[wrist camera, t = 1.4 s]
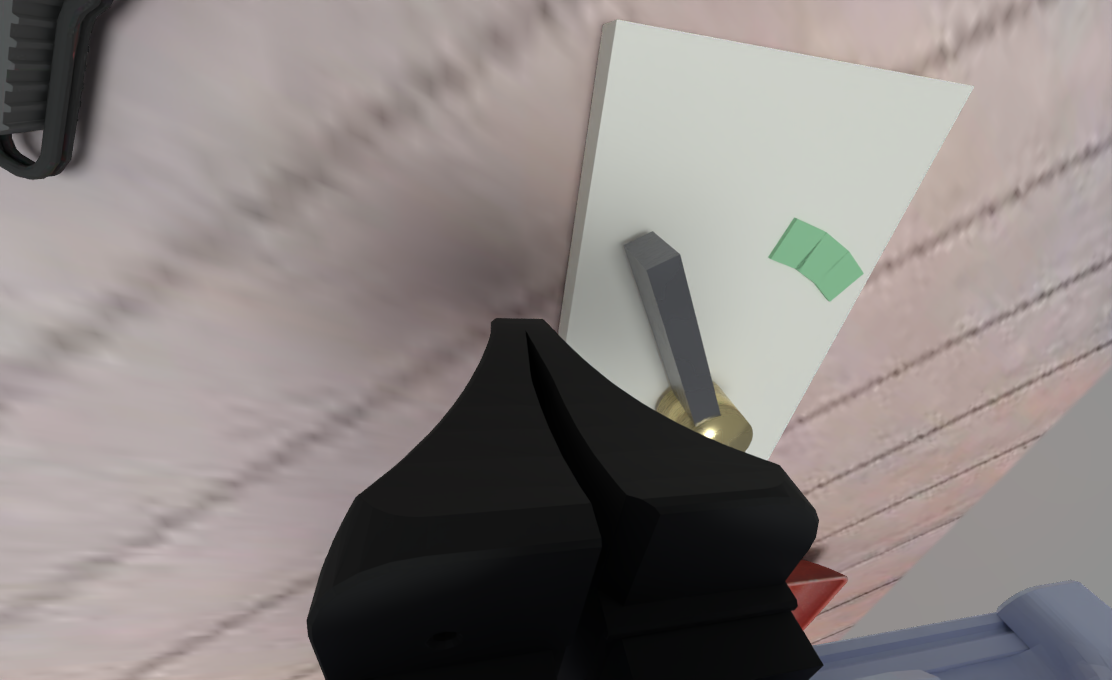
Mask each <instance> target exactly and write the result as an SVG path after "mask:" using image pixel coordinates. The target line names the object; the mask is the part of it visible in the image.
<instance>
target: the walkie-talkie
mask: <svg viewBox="0 0 1112 680" xmlns="http://www.w3.org/2000/svg"><path fill="white" fill-rule="evenodd" d="M112 2H113V0H0V167H2V168H4V169H5V170H7V171H9V172H10V173H12V174H14V175H16V176H18V177H22V178H27V179H32V180H34V179H44V178H46V177H48V176H55V175H57V174H60V173H61V172H62V171H63V170H64V168H65V167H66V165H67V164H68V163H69V162H70V160H71V157H72V151H73V144H74V137H75V131H76V124H77V121H78V119H77V118H78V111H79V107H80V106H81V102H80V98H81V91H82V89H83V86H84V84H83V78H84V71H86V58H87V52H89V46H88V45H89V38H90V33H92V28H93V25H94V23H95V20H96V18H97V16H99V15H100V14H102V13H103V12H104V11H106V10H107V9H108V8H110V6H111V4H112ZM37 130H44V131H43V139H42V147H41V155H40V157H39V158H38V160H37V161H36V163H35V162H34V161H32V160H30V159H29V158H27V157H25V156H24V155H22V154H21V153H20V152H19V151H18V150H17V149H16V147H15V145H14V142H13V140H12V134H13V133H21V132H29V131H37Z"/></svg>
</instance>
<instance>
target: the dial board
mask: <svg viewBox="0 0 1112 680" xmlns="http://www.w3.org/2000/svg"><path fill="white" fill-rule="evenodd" d="M973 88H974V86H971V85H965V84H960V83H954V82H949V81H944V80H938V79H933V78H928V77H922V76H917V75H912V74H906V73H901V72H896V71H890V70H885V69H880V68H874V67H869V66H863V65H858V64H853V63H847V62H842V61H837V60H831V59H826V58H821V57H815V56H810V55H805V54H799V53H794V52H789V51H783V50H778V49H773V48H767V47H762V46H756V45H751V44H746V43H740V42H735V41H730V40H724V39H719V38H714V37H708V36H703V35H698V34H692V33H687V32H682V31H676V30H671V29H665V28H660V27H655V26H649V25H644V24H639V23H633V22H628V21H623V20H614V21H611V22H609V23H606V24H603V28H602V35H601V41H600V48H599V55H598V62H597V69H596V76H595V83H594V90H593V97H592V103H591V110H590V117H589V124H588V131H587V138H586V145H585V152H584V159H583V165H582V172H581V179H580V186H579V193H578V200H577V207H576V214H575V221H574V227H573V234H572V241H571V248H570V255H569V262H568V269H567V276H566V282H565V289H564V296H563V303H562V310H561V317H560V324H559V331H558V335H559V336H560V337H561V338H562V339H563V340H564V341H565V342H566V343H567V344H568V345H569V346H570V347H571V348H572V349H573V350H575V351H576V352H577V353H578V354H579V355H580V356H581V357H582V358H583V359H584V360H585V361H587V362H588V363H589V364H590V365H591V366H592V367H593V368H595V369H596V370H597V371H598V372H600V373H601V374H602V375H603V376H605V377H606V378H607V379H608V380H610V381H611V382H612V383H614V384H615V385H616V386H618V387H619V388H621V389H622V390H624V391H625V392H627V393H628V394H629V395H631V396H632V397H634V398H635V399H637V400H638V401H640V402H642V403H643V404H645V405H647V406H648V407H650V408H652V409H653V410H655V411H657V408H658V405H659V403H660V401H661V400H662V399H663V397H664V396H665V395H666V394H667V393H668V392H669V391H670V390H672V388H671V385H670V382H669V379H668V376H667V373H666V370H665V367H664V364H663V361H662V358H661V356H660V353H659V350H658V347H657V344H656V341H655V338H654V335H653V332H652V329H651V326H650V323H649V320H648V317H647V314H646V311H645V308H644V305H643V302H642V299H641V296H640V293H639V290H638V287H637V284H636V281H635V278H634V276H633V273H632V270H631V267H630V264H629V261H628V258H627V255H626V252H625V249H624V246H623V245H624V244H627V243H629V242H631V241H633V240H635V239H637V238H639V237H641V236H644V235H646V234H648V233H650V232H652V231H653V232H654V233H655V234H657V235H658V236H659V237H660V238H661V239H663V240H664V241H665V242H666V243H667V244H669V245H670V246H671V247H672V248H673V249H675V250H676V251H677V252H678V253H679V254H680V255H681V259H682V263H683V267H684V271H685V275H686V279H687V283H688V287H689V291H690V295H691V299H692V303H693V307H694V311H695V315H696V319H697V323H698V326H699V330H700V334H701V338H702V342H703V346H704V350H705V354H706V358H707V362H708V366H709V370H710V374H711V378H712V382H714V383H716V384H717V385H718V386H719V387H720V388H721V389H722V391H723V392H724V393H725V394H726V396H727V397H728V398H729V399H730V400H731V402H732V403H733V404H734V405H735V407H736V408H737V409H738V410H739V411H740V413H741V414H742V415H743V416H744V418H745V419H746V420H747V421H748V422H749V424H750V425H751V427H752V430H753V438H752V441H751V443H750V445H749V447H748V449H747V450H746V451H745V453H748V454H751V455H754V456H756V457H759V458H762V459H764V460H768V459H769V457H770V455H771V453H772V451H773V450H774V448H775V446H776V444H777V442H778V441H779V439H780V437H781V435H782V433H783V432H784V430H785V428H786V426H787V424H788V422H789V421H790V419H791V417H792V415H793V413H794V412H795V410H796V408H797V406H798V404H799V403H800V401H801V399H802V397H803V395H804V394H805V392H806V390H807V388H808V386H809V385H810V383H811V381H812V379H813V377H814V375H815V374H816V372H817V370H818V368H819V366H820V365H821V363H822V361H823V359H824V357H825V356H826V354H827V352H828V350H829V348H830V347H831V345H832V343H833V341H834V339H835V337H836V336H837V334H838V332H839V330H840V328H841V327H842V325H843V323H844V321H845V319H846V318H847V316H848V314H849V312H850V310H851V309H852V307H853V305H854V303H855V301H856V299H857V298H858V296H859V294H860V292H861V290H862V289H863V287H864V285H865V283H866V281H867V280H868V278H869V276H870V274H871V272H872V271H873V269H874V267H875V265H876V263H877V261H878V260H879V258H880V256H881V254H882V252H883V251H884V249H885V247H886V245H887V243H888V242H889V240H890V238H891V236H892V234H893V233H894V231H895V229H896V227H897V225H898V224H899V222H900V220H901V218H902V216H903V214H904V213H905V211H906V209H907V207H908V205H909V204H910V202H911V200H912V198H913V196H914V195H915V193H916V191H917V189H918V187H919V186H920V184H921V182H922V180H923V178H924V176H925V175H926V173H927V171H928V169H929V167H930V166H931V164H932V162H933V160H934V158H935V157H936V155H937V153H938V151H939V149H940V148H941V146H942V144H943V142H944V140H945V138H946V137H947V135H948V133H949V131H950V129H951V128H952V126H953V124H954V122H955V120H956V119H957V117H958V115H959V113H960V111H961V110H962V108H963V106H964V104H965V102H966V100H967V99H968V97H969V95H970V93H971V91H972V90H973Z"/></svg>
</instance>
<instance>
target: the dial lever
mask: <svg viewBox="0 0 1112 680" xmlns="http://www.w3.org/2000/svg"><path fill="white" fill-rule="evenodd" d="M623 246H624V249H625V252H626V255H627V258H628V261H629V264H630V267H631V270H632V273H633V276H634V278H635V281H636V284H637V287H638V290H639V293H640V296H641V299H642V302H643V305H644V308H645V311H646V314H647V317H648V320H649V323H650V326H651V329H652V332H653V335H654V338H655V341H656V344H657V347H658V350H659V353H660V356H661V358H662V361H663V364H664V367H665V370H666V373H667V376H668V379H669V382H670V385H671V388H672V390H670V391H669V392H668V393H667V394H666V395H665V396H664V397H663V399H662V400H661V401H660V403H659V405H658V408H657V412H659V413H661V414H662V415H664V416H666V417H668V418H670V419H671V420H673V421H675V422H677V423H679V424H681V425H683V426H685V427H687V428H689V429H691V430H693V431H695V432H697V433H700V434H702V435H704V436H706V437H709V438H711V439H713V440H715V441H717V442H720V443H722V444H724V445H727V446H729V447H732V448H735V449H737V450H740V451H743V452H745V451H746V450H747V449H748V447H749V445H750V443H751V441H752V438H753V430H752V427H751V425H750V424H749V422H748V421H747V420H746V419H745V418H744V416H743V415H742V414H741V413H740V411H739V410H738V409H737V408H736V407H735V405H734V404H733V403H732V402H731V400H730V399H729V398H728V397H727V396H726V394H725V393H724V392H723V391H722V389H721V388H720V387H719V386H718V385H717V384H716V383H714V382H712V378H711V374H710V370H709V366H708V362H707V358H706V354H705V350H704V346H703V342H702V338H701V334H700V330H699V326H698V323H697V319H696V315H695V311H694V307H693V303H692V299H691V295H690V291H689V287H688V283H687V279H686V275H685V271H684V267H683V263H682V259H681V255H680V254H679V253H678V252H677V251H676V250H675V249H673V248H672V247H671V246H670V245H669V244H667V243H666V242H665V241H664V240H663V239H661V238H660V237H659V236H658V235H657V234H655V233H654V232H653V231H652V232H650V233H648V234H646V235H644V236H641V237H639V238H637V239H635V240H633V241H631V242H629V243H627V244H624V245H623Z"/></svg>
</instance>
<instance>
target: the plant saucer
mask: <svg viewBox="0 0 1112 680" xmlns="http://www.w3.org/2000/svg"><path fill="white" fill-rule="evenodd" d="M847 581H848V577H847V576H845V575H843V574H841V573H838V572H836V571H834V570H832V569H829V568H827V567H824V566H821V565H818V564H815V563H812V562H809V561H806V560H803V559H801V561H800V562H799V563H798V565H797V566H796V567H795V569H794V570H793V571H792V573H791V574H790V575H789V577H788V578H787V579H786V581H785V582H786V583H787V585H788V586H789V588H790V590H791V591H792V593H793V594H794V596H795V597H796V599H797V603H798V607H797V608H796V609H795V610H794V611H791V612H792V613H793V615H794V617H795V618H796V620H797V622H798V623H799V625H800V627H801V628H802V630H804V629H805V628H806V627H807V626H808V625H809V624H810V623H811V622H812V621H813V620H814V618H815V617H816V616H817V615H818V614H819V613H820V612H821V611H822V609H823V608H824V607H825V606H826V605H827V604H828V603H829V602H830V601H831V599H832V598H833V597H834V596H835V595H836V594H837V593H838V592H839V591H840V590H841V588H842V587H843V586H844V585H845V584H846V583H847Z"/></svg>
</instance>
